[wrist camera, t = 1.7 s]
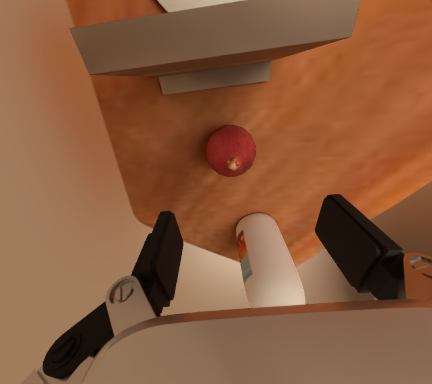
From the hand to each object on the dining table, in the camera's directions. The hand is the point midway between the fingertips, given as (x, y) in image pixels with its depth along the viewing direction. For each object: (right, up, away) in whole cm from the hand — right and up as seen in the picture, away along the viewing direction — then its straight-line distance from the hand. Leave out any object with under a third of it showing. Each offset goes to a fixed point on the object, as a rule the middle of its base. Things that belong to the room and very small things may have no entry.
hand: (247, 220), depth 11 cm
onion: (0, +9, +12) cm, 15 cm away
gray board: (-2, +16, +7) cm, 18 cm away
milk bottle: (+6, -5, +22) cm, 23 cm away
